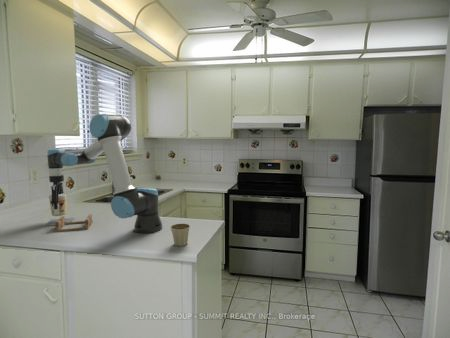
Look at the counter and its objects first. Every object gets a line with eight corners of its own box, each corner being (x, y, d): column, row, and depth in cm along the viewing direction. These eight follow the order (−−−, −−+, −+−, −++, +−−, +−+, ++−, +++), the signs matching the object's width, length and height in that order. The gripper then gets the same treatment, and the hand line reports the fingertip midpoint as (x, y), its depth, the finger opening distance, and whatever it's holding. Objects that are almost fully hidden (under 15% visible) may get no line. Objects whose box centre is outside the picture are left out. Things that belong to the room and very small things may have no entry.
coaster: (68, 224, 174) (68, 223, 174) (44, 226, 171) (44, 225, 171) (74, 218, 187) (74, 217, 187) (51, 220, 183) (51, 219, 183)
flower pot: (179, 249, 135) (178, 230, 134) (166, 244, 141) (166, 226, 140) (194, 243, 142) (194, 226, 141) (181, 239, 148) (181, 222, 147)
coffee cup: (49, 217, 172) (47, 197, 171) (51, 213, 181) (49, 194, 179) (67, 215, 176) (65, 195, 174) (68, 211, 184) (67, 192, 183)
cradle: (88, 229, 165) (87, 220, 164) (55, 232, 161) (54, 223, 160) (92, 221, 179) (92, 213, 179) (62, 224, 175) (62, 216, 175)
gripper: (58, 177, 166) (60, 216, 169) (68, 172, 187) (70, 207, 189) (43, 177, 164) (46, 217, 167) (54, 173, 185) (57, 208, 188)
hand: (59, 212), depth 178 cm, fingers closed on coffee cup, 9 cm apart
